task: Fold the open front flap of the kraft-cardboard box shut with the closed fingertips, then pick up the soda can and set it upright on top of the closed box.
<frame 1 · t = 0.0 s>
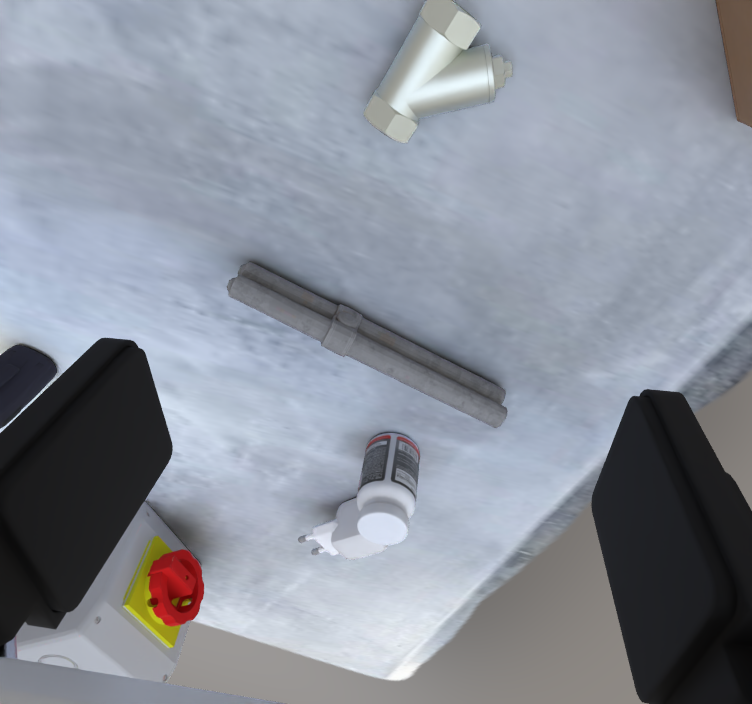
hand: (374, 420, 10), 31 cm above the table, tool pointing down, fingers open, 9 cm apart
grey double pipe: (377, 328, 46), on the table
power adapter: (349, 509, 62), on the table
two-way radio: (37, 354, 54), on the table
pipe fitting: (441, 81, 35), on the table
electrical switch box: (169, 533, 70), on the table
pill bottle: (393, 448, 55), on the table
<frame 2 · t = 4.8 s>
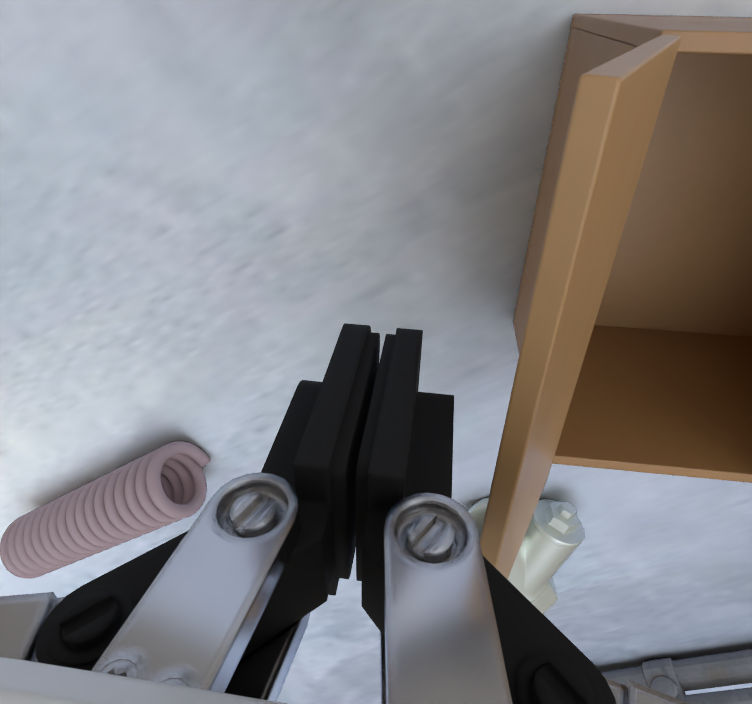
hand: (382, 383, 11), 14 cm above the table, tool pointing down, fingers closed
grey double pipe: (696, 652, 41), on the table
box: (720, 203, 21), on the table
flap: (554, 388, 11), point 13 cm above the table, hinge at 113.1°, touching gripper
coil: (119, 486, 37), on the table
pipe fitting: (531, 525, 34), on the table
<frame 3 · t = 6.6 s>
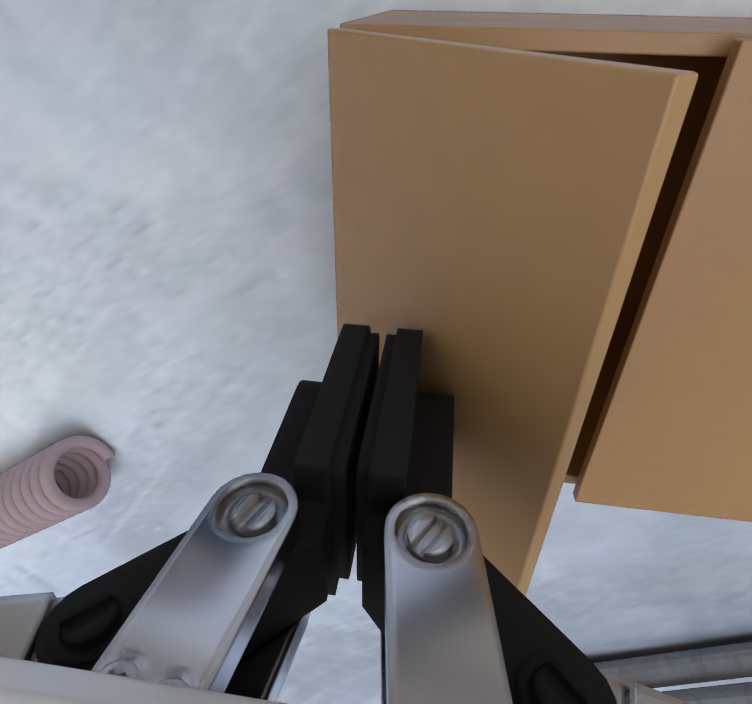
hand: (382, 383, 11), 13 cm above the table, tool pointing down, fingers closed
grey double pipe: (615, 655, 41), on the table
box: (565, 201, 21), on the table
flap: (425, 381, 11), point 13 cm above the table, hinge at 49.4°, touching gripper
coil: (34, 479, 38), on the table
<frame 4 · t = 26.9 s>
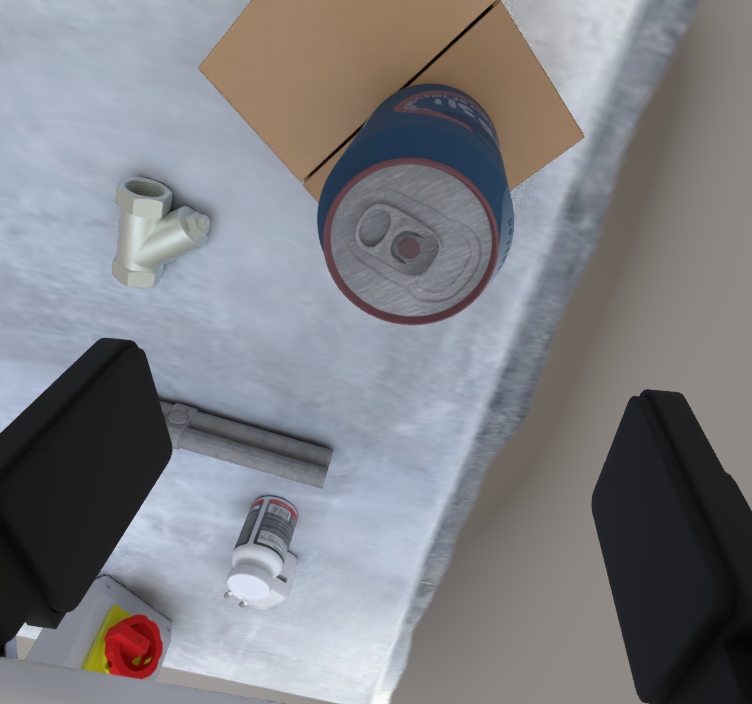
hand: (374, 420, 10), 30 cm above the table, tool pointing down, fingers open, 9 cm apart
grey double pipe: (216, 416, 54), on the table
power adapter: (265, 562, 69), on the table
box: (407, 74, 34), on the table
flap: (338, 35, 24), point 10 cm above the table, hinge at -0.6°
pipe fitting: (173, 232, 43), on the table
electrical switch box: (137, 599, 80), on the table
soda can: (429, 154, 27), point 10 cm above the table, touching box
pill bottle: (276, 508, 62), on the table
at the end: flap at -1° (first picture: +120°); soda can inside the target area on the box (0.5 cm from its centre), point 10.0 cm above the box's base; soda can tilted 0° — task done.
